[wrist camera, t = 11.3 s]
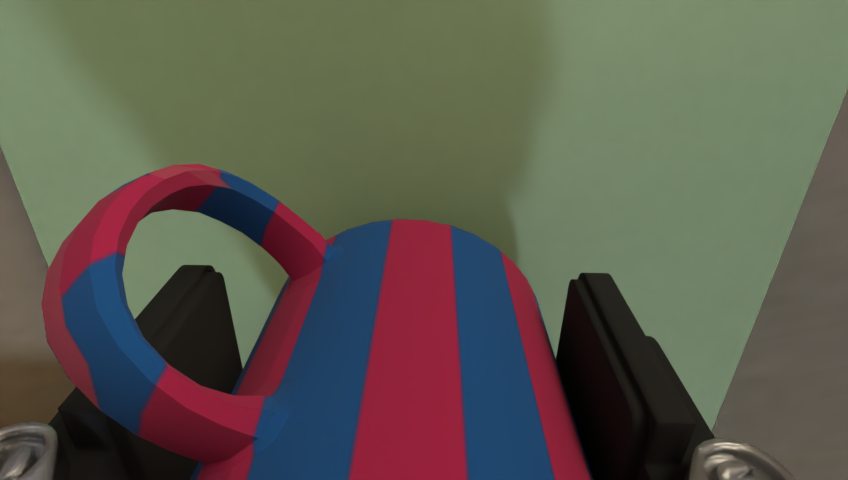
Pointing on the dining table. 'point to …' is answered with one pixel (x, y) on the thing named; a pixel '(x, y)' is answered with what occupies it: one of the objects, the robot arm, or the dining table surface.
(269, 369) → the mug
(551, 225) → the placemat
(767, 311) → the dining table surface
